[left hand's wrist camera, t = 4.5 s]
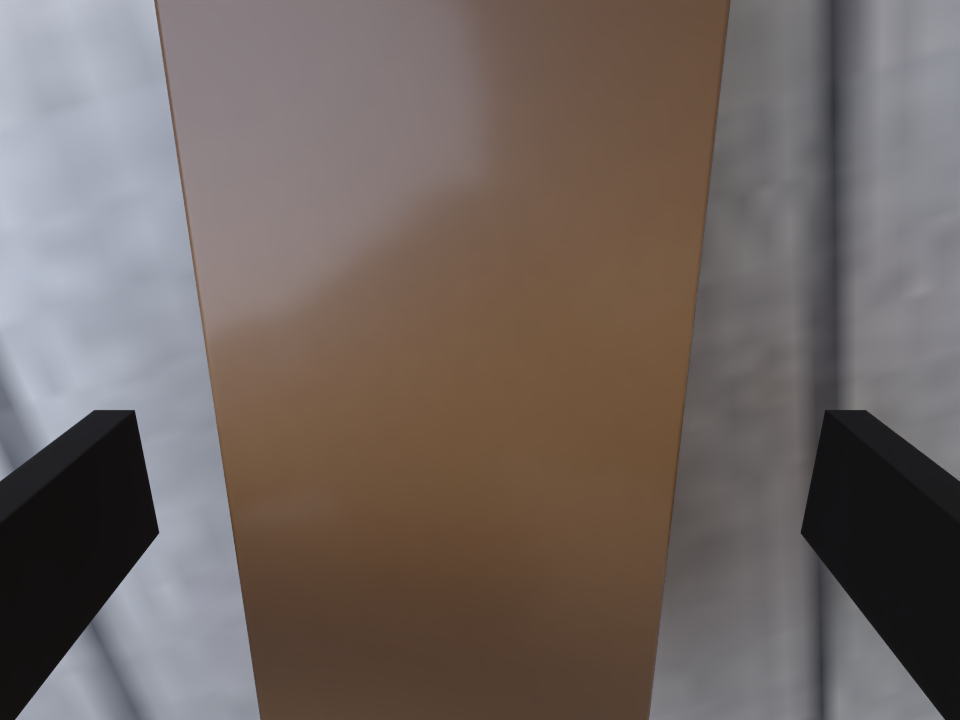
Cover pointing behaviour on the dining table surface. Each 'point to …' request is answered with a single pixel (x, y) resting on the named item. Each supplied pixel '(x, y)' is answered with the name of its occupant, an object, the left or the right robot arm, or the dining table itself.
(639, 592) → the post
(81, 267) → the dining table surface
